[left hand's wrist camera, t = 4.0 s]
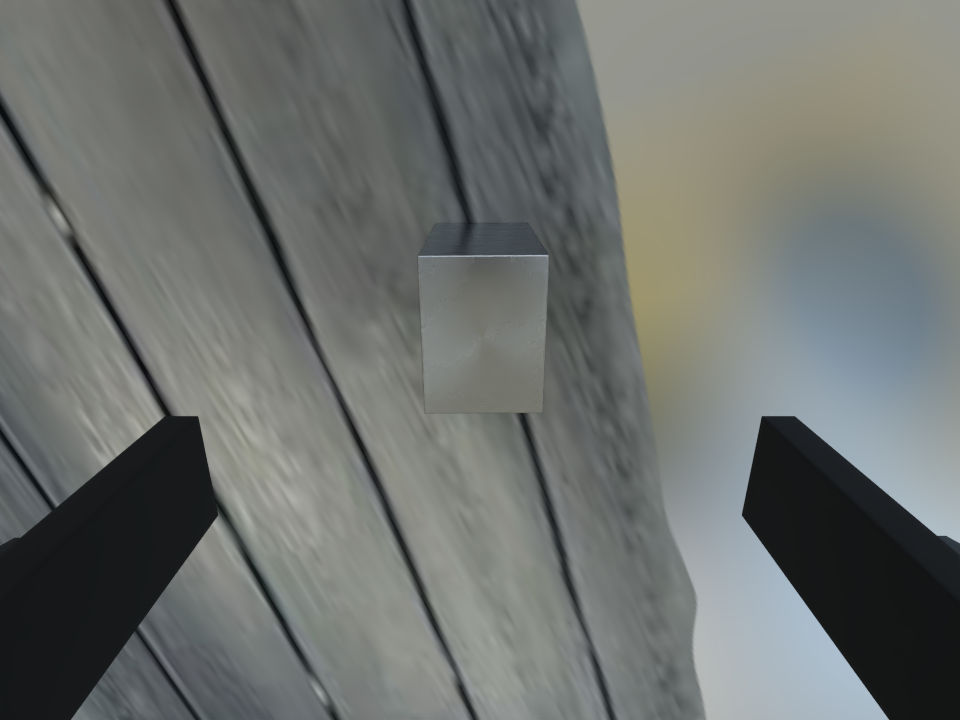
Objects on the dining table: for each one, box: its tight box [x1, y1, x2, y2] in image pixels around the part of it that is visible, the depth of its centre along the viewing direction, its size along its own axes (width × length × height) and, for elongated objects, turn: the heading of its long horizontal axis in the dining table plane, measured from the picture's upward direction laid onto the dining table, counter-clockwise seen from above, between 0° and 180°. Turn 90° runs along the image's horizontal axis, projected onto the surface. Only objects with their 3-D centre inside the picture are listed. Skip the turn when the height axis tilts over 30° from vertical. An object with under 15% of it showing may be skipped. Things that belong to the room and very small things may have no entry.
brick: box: [417, 223, 549, 413], centre depth 26 cm, size 7×5×9 cm
